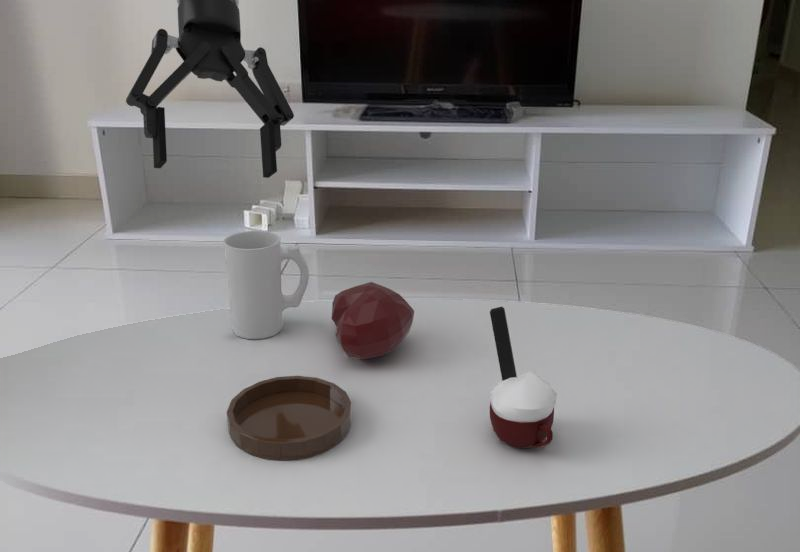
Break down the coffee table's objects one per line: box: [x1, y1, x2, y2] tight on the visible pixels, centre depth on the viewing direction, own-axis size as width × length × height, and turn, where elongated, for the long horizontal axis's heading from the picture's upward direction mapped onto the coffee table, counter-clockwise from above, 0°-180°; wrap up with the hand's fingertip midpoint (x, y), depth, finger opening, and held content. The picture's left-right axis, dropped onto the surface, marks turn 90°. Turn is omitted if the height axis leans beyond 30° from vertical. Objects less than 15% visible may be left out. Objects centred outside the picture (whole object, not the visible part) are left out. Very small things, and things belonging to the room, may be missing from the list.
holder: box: [226, 375, 353, 461], centre depth 75 cm, size 12×12×2 cm
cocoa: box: [489, 306, 557, 449], centre depth 72 cm, size 10×6×12 cm, turn 4°
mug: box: [222, 230, 310, 340], centre depth 93 cm, size 10×7×12 cm, turn 100°
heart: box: [331, 281, 415, 360], centre depth 90 cm, size 12×8×10 cm
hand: (217, 170), depth 90 cm, fingers open, 13 cm apart
